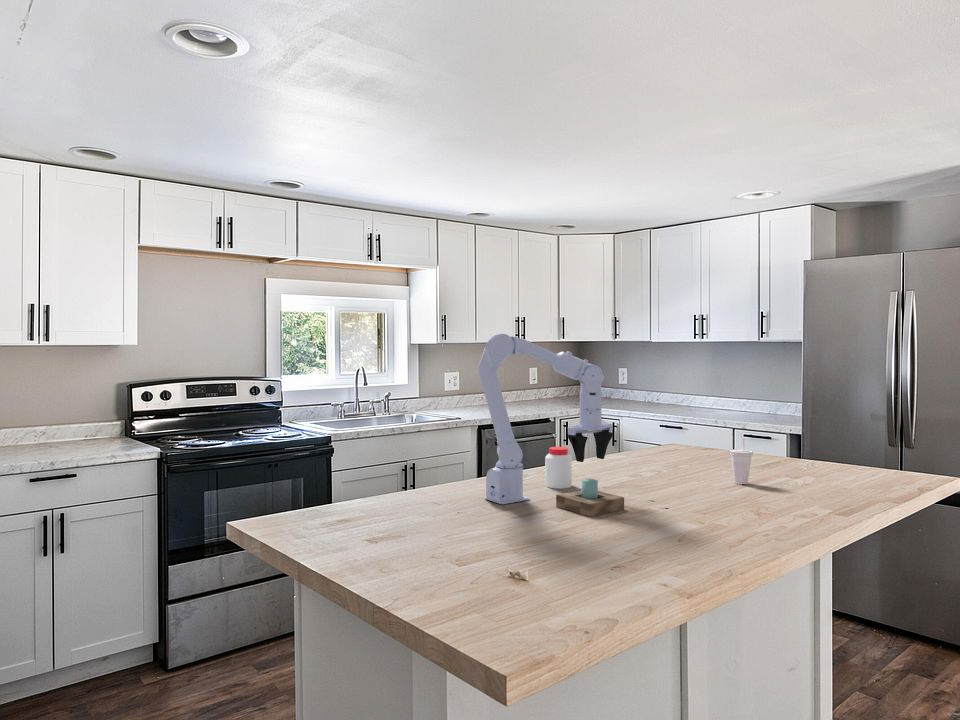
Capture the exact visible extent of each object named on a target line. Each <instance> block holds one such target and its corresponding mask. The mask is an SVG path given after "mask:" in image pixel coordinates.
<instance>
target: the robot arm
mask: <svg viewBox="0 0 960 720" xmlns="http://www.w3.org/2000/svg"><path fill="white" fill-rule="evenodd" d="M511 354H512V355H527V356H530V357H532V358H534V359H536V360H539V361H542V362H545V363H547V364H550V365H551V366H552V369H553V371H554V372H555V373H558V374H560V375H562V376H565V377H567V378H569V379H572V380H574V381H579V383H580V391H579V424H578V425H575V426H567V439H568V441H569V442H570V445H571V446H572V449H573V451H574V452H573V453H574V456H575V460H576V462H578V463H579V462H580V463H584V461H585V451H586V445H587V440H588V438H589V437H588V436H584V435H583V434H593V437H594V441H595V452H596V453H595V455H596V458H597V459H599V460H604V459H605V456H606V452H607V449H608V445H609V444H610V442H611V439H612V438H613V437H614V433H613V432H612V431H613V423H608V422H607V423H602V403H603V402H602V400H603V399H602V393H603V392H602V383H603V381H604V379H605V375H604V372H603V369H601V367H600V366H599V365H597V364H593V363H590V362H589V360H588V359H586V358H584V359H581V358H579V357H576V356H575V355H573V352H571V351H568V350H567V351H566V352H565V351H560V352H557V353H555V352H552V351H551V350H548V349H546V348H544V347H542V346H539V345H537V344H536V343H533V342H531V341H529V340H526V339H524V338H522V337H521V338H520V337H516V336H513V335H512V336H511V335H508V334H506V333H496V334H494V335H492V337H491V338H490V339H489V340H488V341H487V343H486V344H485V346H484V348H483V352H482V355H481V358H480V360H479V363H478V366H477V369H478V370H477V371H478V374H479V378H480V381H481V385H482V389H483V393H484V396H485V400H486V403H487V406H488V411H489V414H490V418H491V422H492V425H493V430H494V433H495V437H496V440H497V446H496V454H497V456H498V461H497V462H496V463H495V466H494V467H493V468H490V469H488V470H487V472H486V477H485V485H486V488H485V492H486V493H485V494H486V495H485V496H484V500H488V501H491V502H494V503H497V504H500V505H507V504H513V503H518V502H524V501H529V500H530V497H528V496H525V495H524V489H523V488H524V487H523V486H524V484H523V483H524V477H523V476H524V464H523V463H522V460H523V458H524V456H523V455H524V454H523V450H522V448H521V447H520V444H519V443H518V442H517V441H516V438H515V435H514V432H513V429H512V424H511V421H510V418H509V415H508V410H507V406H506V402H505V400H504V395H503V392H502V390H501V389H502V388H501V385H500V382H499V379H498V375H497V371H498V370H499V368H500V366H501V365H502V363H503V361H504V360H506V359H507V358H509V356H511Z"/></svg>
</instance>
